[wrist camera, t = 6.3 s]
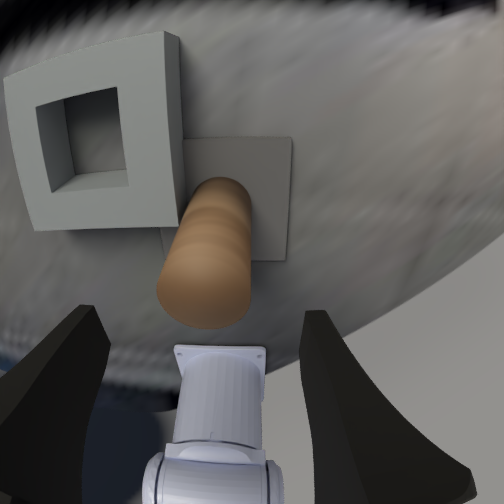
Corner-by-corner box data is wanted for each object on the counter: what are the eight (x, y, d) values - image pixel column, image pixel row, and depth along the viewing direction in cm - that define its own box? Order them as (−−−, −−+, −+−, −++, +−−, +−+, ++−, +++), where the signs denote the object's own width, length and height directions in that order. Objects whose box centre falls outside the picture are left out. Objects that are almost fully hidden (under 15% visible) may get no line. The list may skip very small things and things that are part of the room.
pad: (284, 257, 21) (285, 260, 20) (166, 257, 21) (165, 260, 20) (290, 137, 16) (291, 138, 16) (149, 141, 16) (148, 143, 16)
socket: (188, 202, 18) (178, 226, 16) (56, 209, 18) (34, 231, 16) (178, 36, 13) (163, 30, 10) (32, 72, 13) (3, 78, 10)
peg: (253, 229, 19) (254, 327, 12) (196, 233, 19) (169, 329, 13) (248, 174, 17) (246, 255, 10) (186, 179, 17) (145, 261, 11)
